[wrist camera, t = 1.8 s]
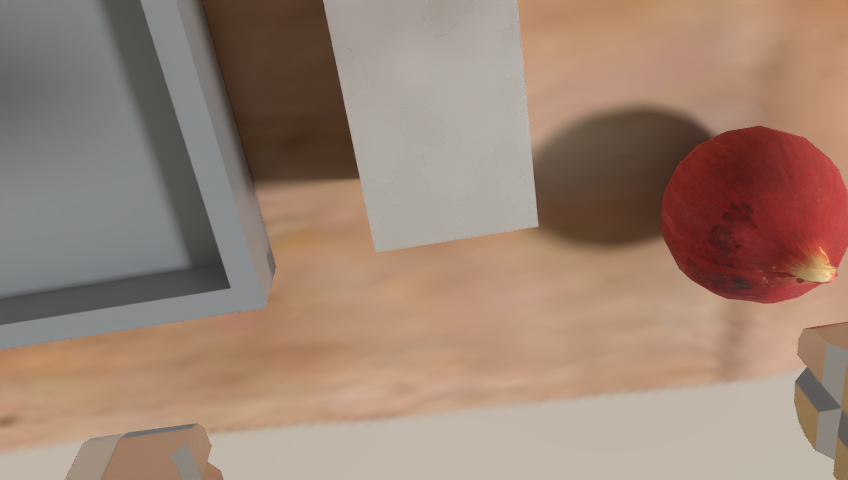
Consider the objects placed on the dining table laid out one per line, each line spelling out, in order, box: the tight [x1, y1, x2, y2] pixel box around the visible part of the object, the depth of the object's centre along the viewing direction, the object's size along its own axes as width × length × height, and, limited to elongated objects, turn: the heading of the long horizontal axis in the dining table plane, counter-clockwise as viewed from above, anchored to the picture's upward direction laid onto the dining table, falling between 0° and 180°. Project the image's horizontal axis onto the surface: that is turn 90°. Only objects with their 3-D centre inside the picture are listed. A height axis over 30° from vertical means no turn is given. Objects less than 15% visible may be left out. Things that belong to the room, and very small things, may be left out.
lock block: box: [323, 0, 538, 253], centre depth 24 cm, size 8×5×6 cm, turn 9°
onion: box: [660, 126, 848, 303], centre depth 26 cm, size 6×6×8 cm
